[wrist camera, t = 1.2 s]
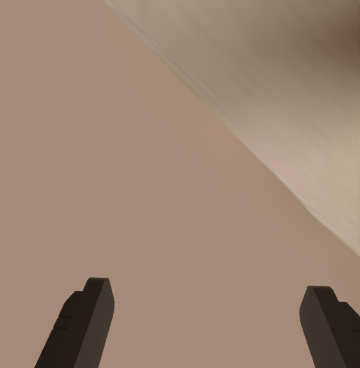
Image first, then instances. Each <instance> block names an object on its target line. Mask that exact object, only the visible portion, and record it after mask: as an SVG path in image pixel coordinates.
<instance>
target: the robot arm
mask: <svg viewBox="0 0 360 368" xmlns="http://www.w3.org/2000/svg"><path fill="white" fill-rule="evenodd" d="M113 313H114V297H113V293H112V289H111V285H110V281H109V279H108V278H89V279H88V280H87V282H86V285H85V287H84V289H83V291H75V292H74V293H73V294H72V295H71V296H70V297H69V299H67V301H66V302H65V303H64V305H63V308H62V309H61V312H60V314H59V317H58V319H57V320H56V322H55V324H54V327H53V330H52V331H51V333H50V335H49V338H48V340H47V342H46V344H45V346H44V348H43V350H42V352H41V355H40V357H39V359H38V361H37V363H36V365H35V367H34V368H98V367H99V363H100V360H101V356H102V352H103V349H104V345H105V342H106V338H107V335H108V331H109V328H110V324H111V321H112V317H113ZM300 322H301V325H302V328H303V332H304V335H305V338H306V340H307V344H308V347H309V350H310V353H311V356H312V358H313V362H314V365H315V368H360V316H359V315H358V314H357V313H356V312H355V311H354V310H353V309H352V308H351V307H350V306H349V304H348V303H347V302H339V301H338V300H337V297H336V295H335V293H334V291H333V290H332V288H331V287H329V286H308V287H307V290H306V293H305V295H304V298H303V301H302V303H301V307H300Z"/></svg>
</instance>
